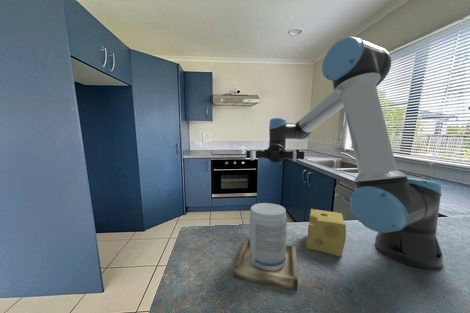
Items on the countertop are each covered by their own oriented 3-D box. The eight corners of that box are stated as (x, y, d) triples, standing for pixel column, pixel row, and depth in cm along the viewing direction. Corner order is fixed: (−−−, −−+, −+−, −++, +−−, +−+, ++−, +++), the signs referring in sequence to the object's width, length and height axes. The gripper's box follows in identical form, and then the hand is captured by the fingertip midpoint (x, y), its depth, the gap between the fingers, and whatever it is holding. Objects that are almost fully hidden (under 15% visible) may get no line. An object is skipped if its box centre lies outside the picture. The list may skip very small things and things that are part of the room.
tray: (294, 252, 58) (295, 244, 57) (297, 290, 43) (297, 279, 43) (246, 245, 61) (246, 237, 61) (233, 277, 47) (234, 267, 47)
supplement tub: (292, 264, 51) (295, 210, 50) (266, 278, 46) (268, 218, 44) (267, 247, 59) (268, 200, 58) (242, 257, 54) (243, 206, 52)
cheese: (305, 249, 60) (307, 218, 59) (308, 234, 69) (310, 207, 69) (344, 258, 55) (346, 225, 54) (341, 240, 65) (343, 212, 64)
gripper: (307, 162, 79) (314, 169, 58) (247, 161, 85) (234, 166, 65) (307, 144, 78) (315, 144, 58) (247, 144, 85) (234, 144, 64)
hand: (272, 156), depth 61 cm, fingers open, 13 cm apart
